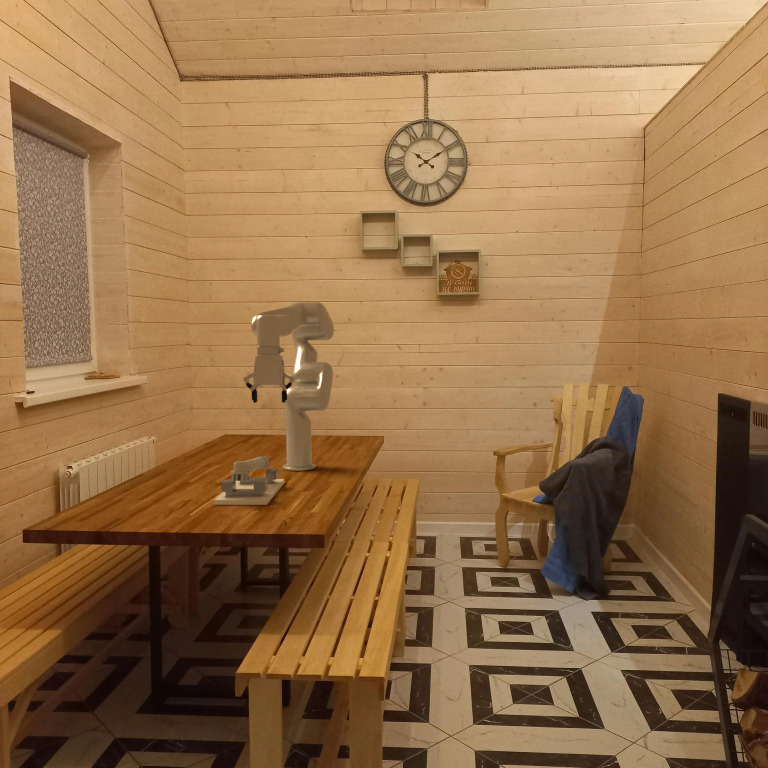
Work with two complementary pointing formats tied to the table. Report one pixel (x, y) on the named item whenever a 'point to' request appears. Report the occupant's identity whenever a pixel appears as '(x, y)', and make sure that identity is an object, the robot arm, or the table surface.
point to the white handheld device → (248, 467)
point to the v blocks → (258, 482)
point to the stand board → (250, 500)
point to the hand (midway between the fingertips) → (269, 402)
